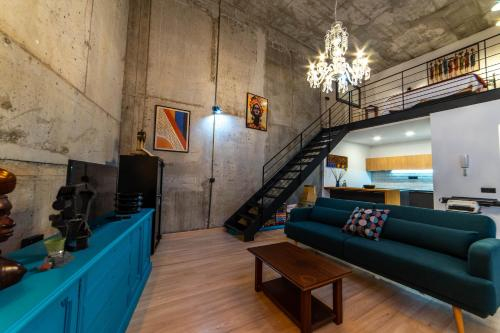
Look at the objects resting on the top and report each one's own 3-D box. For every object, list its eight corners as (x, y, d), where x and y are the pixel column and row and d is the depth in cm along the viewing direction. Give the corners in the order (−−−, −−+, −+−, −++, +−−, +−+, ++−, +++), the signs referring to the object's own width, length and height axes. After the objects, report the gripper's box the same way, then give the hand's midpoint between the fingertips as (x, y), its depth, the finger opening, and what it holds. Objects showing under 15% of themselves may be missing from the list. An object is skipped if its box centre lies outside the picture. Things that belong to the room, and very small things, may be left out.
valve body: (56, 259, 109) (56, 251, 109) (77, 257, 111) (76, 248, 111) (33, 272, 95) (32, 262, 95) (57, 269, 97) (57, 259, 97)
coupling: (55, 259, 105) (54, 249, 105) (66, 257, 106) (65, 248, 106) (47, 263, 100) (46, 254, 100) (59, 262, 101) (58, 252, 101)
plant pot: (47, 260, 109) (46, 244, 109) (42, 257, 113) (41, 241, 114) (69, 253, 117) (68, 238, 117) (63, 250, 121) (63, 236, 122)
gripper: (65, 206, 120) (66, 231, 120) (38, 212, 102) (39, 242, 102) (86, 204, 122) (87, 229, 122) (63, 210, 104) (64, 240, 104)
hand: (70, 235), depth 112 cm, fingers open, 9 cm apart
